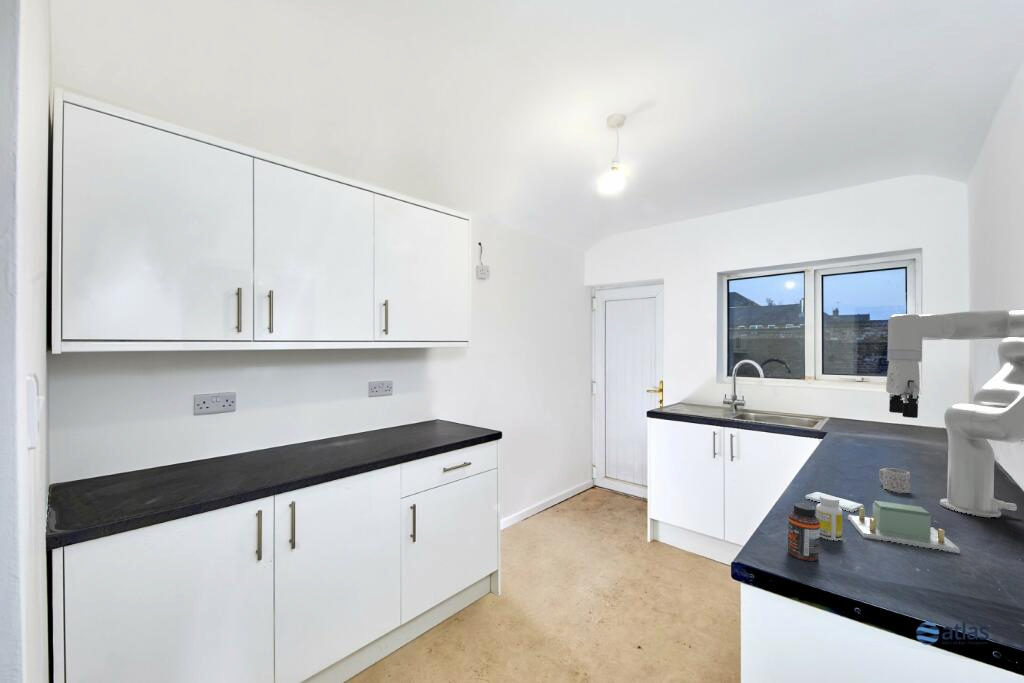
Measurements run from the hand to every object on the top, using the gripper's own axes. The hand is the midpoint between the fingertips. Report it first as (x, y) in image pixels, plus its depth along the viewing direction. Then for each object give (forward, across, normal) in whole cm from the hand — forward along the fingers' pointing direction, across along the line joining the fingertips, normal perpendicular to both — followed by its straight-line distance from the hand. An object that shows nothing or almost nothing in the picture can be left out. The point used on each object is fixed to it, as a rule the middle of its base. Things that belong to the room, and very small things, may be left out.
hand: (902, 414), depth 128 cm
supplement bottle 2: (+28, +31, -24) cm, 48 cm away
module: (+27, +21, -7) cm, 35 cm away
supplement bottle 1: (+28, +46, -32) cm, 63 cm away
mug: (+29, -26, +6) cm, 39 cm away
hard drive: (+29, +1, -16) cm, 33 cm away
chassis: (+28, +21, -7) cm, 36 cm away
